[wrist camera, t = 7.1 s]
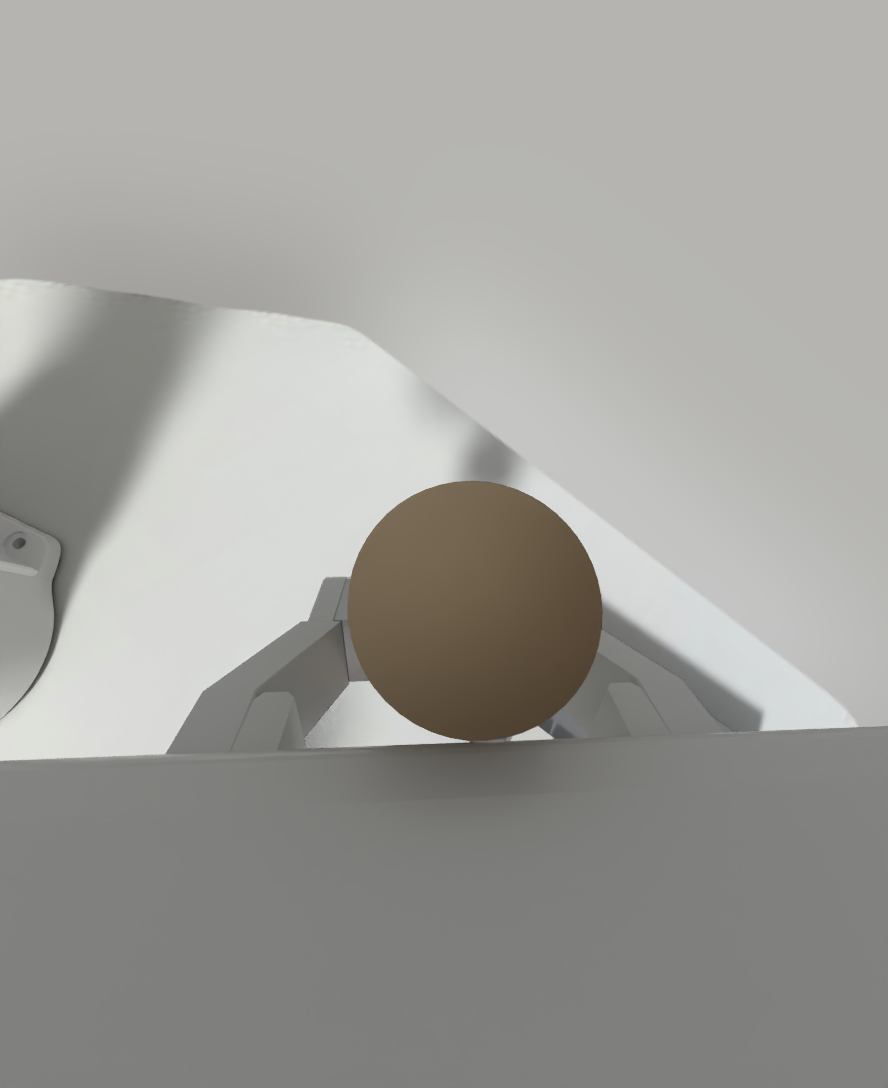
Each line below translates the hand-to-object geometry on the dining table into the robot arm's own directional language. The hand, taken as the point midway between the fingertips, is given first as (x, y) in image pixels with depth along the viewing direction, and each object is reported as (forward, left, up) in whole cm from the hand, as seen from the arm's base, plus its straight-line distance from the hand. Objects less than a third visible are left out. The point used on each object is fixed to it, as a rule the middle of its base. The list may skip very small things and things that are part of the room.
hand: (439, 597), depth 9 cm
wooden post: (0, -1, -7) cm, 7 cm away
